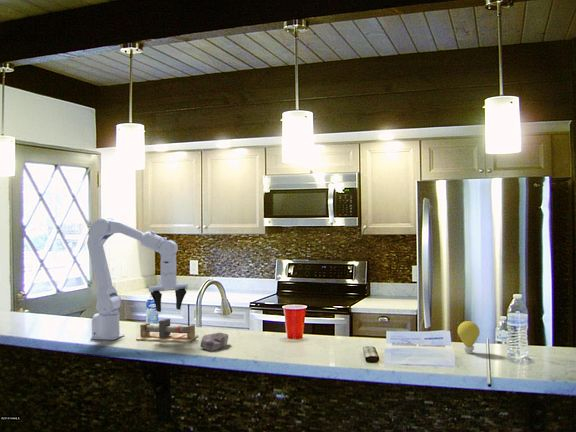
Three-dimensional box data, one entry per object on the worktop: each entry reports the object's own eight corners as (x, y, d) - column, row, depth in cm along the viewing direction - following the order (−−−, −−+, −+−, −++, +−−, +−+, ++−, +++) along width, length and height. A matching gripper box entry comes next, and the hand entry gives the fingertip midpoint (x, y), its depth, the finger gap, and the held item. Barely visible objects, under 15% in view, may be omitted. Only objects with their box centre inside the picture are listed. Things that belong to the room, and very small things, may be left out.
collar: (159, 337, 209) (159, 321, 209) (165, 334, 214) (165, 318, 214) (163, 337, 208) (163, 321, 208) (170, 334, 213) (170, 318, 213)
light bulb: (462, 349, 188) (462, 318, 188) (483, 352, 184) (482, 320, 184) (454, 353, 183) (453, 321, 183) (475, 356, 179) (474, 323, 179)
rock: (196, 351, 191) (196, 337, 191) (207, 343, 202) (207, 330, 202) (219, 352, 190) (219, 338, 190) (230, 344, 201) (230, 331, 201)
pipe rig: (135, 340, 209) (135, 326, 209) (149, 334, 218) (149, 321, 218) (186, 342, 203) (186, 328, 203) (198, 336, 213) (198, 323, 213)
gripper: (153, 275, 205) (154, 313, 205) (191, 272, 213) (191, 309, 213) (146, 273, 210) (146, 311, 210) (183, 271, 219) (183, 307, 219)
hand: (168, 310), depth 212 cm, fingers open, 7 cm apart
